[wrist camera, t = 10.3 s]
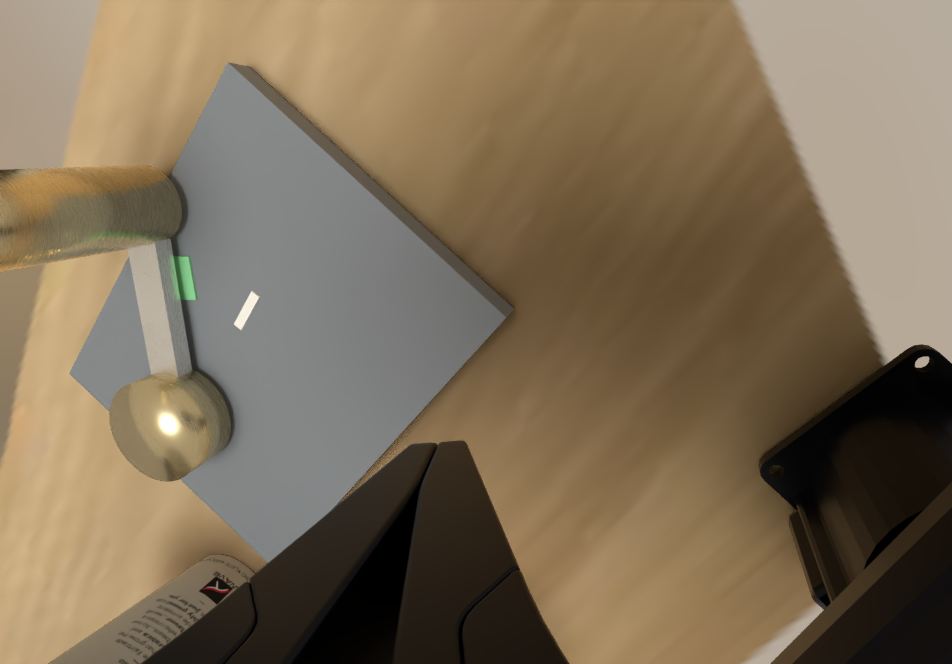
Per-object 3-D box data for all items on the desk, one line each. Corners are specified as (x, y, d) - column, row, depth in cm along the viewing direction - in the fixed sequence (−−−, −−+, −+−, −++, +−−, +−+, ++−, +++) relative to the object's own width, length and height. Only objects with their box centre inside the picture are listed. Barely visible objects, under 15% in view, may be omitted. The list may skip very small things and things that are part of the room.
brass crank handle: (237, 464, 26) (-136, 734, 14) (156, 452, 28) (-248, 690, 15) (190, 156, 23) (-366, 162, 10) (100, 158, 24) (-489, 167, 12)
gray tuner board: (249, 66, 23) (226, 62, 21) (514, 309, 22) (505, 318, 21) (91, 364, 29) (67, 374, 28) (291, 554, 29) (275, 572, 28)
